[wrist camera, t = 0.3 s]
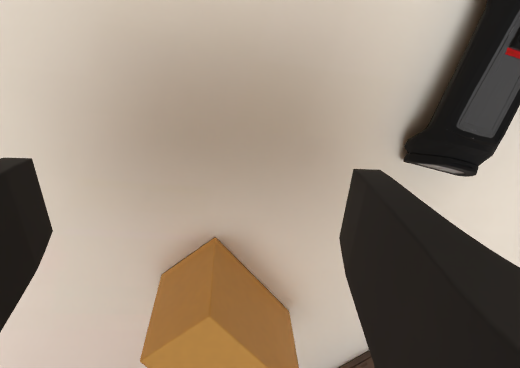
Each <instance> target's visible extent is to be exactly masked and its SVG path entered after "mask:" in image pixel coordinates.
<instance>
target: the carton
mask: <svg viewBox="0 0 520 368" xmlns="http://www.w3.org/2000/svg"><path fill="white" fill-rule="evenodd" d="M140 362H141V363H142V364H144V365H145V366H146V367H148V368H299V366H298V360H297V355H296V349H295V343H294V337H293V332H292V326H291V320H290V314H289V311H288V310H287V309H286V308H285V307H284V306H283V305H282V304H281V303H280V302H279V301H278V300H277V299H276V298H275V297H274V296H273V295H272V294H271V293H270V292H269V291H268V290H267V289H266V288H265V287H264V286H263V285H262V284H261V283H260V282H259V281H258V280H257V279H256V278H255V277H254V276H253V275H252V274H251V273H250V272H249V271H248V270H247V269H246V268H245V267H244V266H243V265H242V264H241V263H240V262H239V261H238V260H237V259H236V258H235V257H234V256H233V255H232V254H231V253H230V252H229V251H228V250H227V249H226V248H225V247H224V246H223V245H222V244H221V243H220V242H219V241H218V240H217V239H216V238H213V239H212V240H211V241H209V242H208V243H206V244H205V245H203V246H202V247H201V248H199V249H198V250H196V251H195V252H193V253H192V254H191V255H189V256H188V257H186V258H185V259H183V260H182V261H181V262H179V263H178V264H176V265H175V266H173V267H172V268H171V269H169V270H168V271H166V272H165V273H163V274H162V275H161V279H160V283H159V287H158V291H157V295H156V299H155V303H154V307H153V311H152V315H151V319H150V323H149V327H148V331H147V335H146V339H145V343H144V347H143V351H142V355H141V358H140Z"/></svg>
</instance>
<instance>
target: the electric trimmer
mask: <svg viewBox="0 0 520 368" xmlns="http://www.w3.org/2000/svg"><path fill="white" fill-rule="evenodd" d="M519 105H520V0H487V4H486V8H485V11H484V13H483V15H482V17H481V19H480V21H479V23H478V25H477V27H476V29H475V31H474V33H473V35H472V38H471V40H470V42H469V44H468V46H467V48H466V50H465V52H464V54H463V56H462V58H461V60H460V62H459V64H458V66H457V68H456V70H455V72H454V74H453V76H452V78H451V80H450V82H449V85H448V87H447V89H446V91H445V93H444V95H443V97H442V99H441V101H440V103H439V105H438V107H437V109H436V111H435V113H434V115H433V117H432V119H431V121H430V123H429V125H428V127H427V128H426V129H425V130H424V131H422V132H421V133H419V134H417V135H416V136H414V137H412V138H410V139H409V140H407V142H406V144H405V146H404V147H405V149H406V150H407V152H408V153H410V154H406V156H405V158H404V162H407V163H411V164H415V165H419V166H423V167H427V168H430V169H434V170H438V171H442V172H446V173H449V174H453V175H457V176H474V175H476V174H477V170H478V166H479V165H480V164H481V163H483V162H484V161H485V160H487V159H488V158H490V157H491V156H492V155H493V154H494V152H495V150H496V148H497V147H498V145H499V143H500V142H501V140H502V138H503V137H504V135H505V133H506V131H507V129H508V127H509V125H510V123H511V121H512V119H513V117H514V115H515V113H516V111H517V109H518V107H519Z"/></svg>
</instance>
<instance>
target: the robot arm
mask: <svg viewBox="0 0 520 368" xmlns="http://www.w3.org/2000/svg"><path fill="white" fill-rule="evenodd" d="M52 232H53V230H52V227H51V223H50V220H49V216H48V213H47V209H46V206H45V202H44V199H43V195H42V192H41V188H40V185H39V182H38V178H37V175H36V171H35V168H34V164H33V161H32V159H29V158H1V159H0V332H1V330H2V328H3V327H4V325H5V323H6V322H7V320H8V318H9V317H10V315H11V313H12V312H13V310H14V308H15V307H16V305H17V303H18V302H19V300H20V298H21V297H22V295H23V293H24V291H25V290H26V288H27V286H28V285H29V283H30V281H31V279H32V278H33V276H34V274H35V272H36V271H37V269H38V266H39V264H40V262H41V259H42V257H43V255H44V252H45V250H46V247H47V245H48V242H49V239H50V237H51V234H52ZM339 239H340V245H341V251H342V257H343V263H344V268H345V274H346V278H347V281H348V284H349V287H350V291H351V294H352V297H353V300H354V304H355V307H356V310H357V313H358V316H359V319H360V322H361V326H362V329H363V332H364V335H365V338H366V341H367V344H368V347H369V351H370V354H371V357H372V360H373V363H374V367H375V368H520V268H519V267H518V266H516V265H514V264H513V263H511V262H509V261H508V260H506V259H504V258H503V257H501V256H499V255H498V254H496V253H495V252H493V251H492V250H490V249H489V248H487V247H486V246H484V245H483V244H481V243H480V242H478V241H477V240H475V239H474V238H472V237H471V236H469V235H468V234H466V233H465V232H463V231H462V230H460V229H459V228H458V227H456V226H455V225H453V224H452V223H451V222H449V221H448V220H447V219H445V218H444V217H442V216H441V215H440V214H438V213H437V212H436V211H434V210H433V209H432V208H430V207H429V206H428V205H427V204H425V203H424V202H423V201H421V200H420V199H419V198H417V197H416V196H415V195H413V194H412V193H411V192H410V191H408V190H407V189H406V188H404V187H403V186H402V185H401V184H399V183H398V182H397V181H395V180H394V179H393V178H391V177H390V176H388V175H387V174H385V173H384V172H382V171H381V170H366V169H354V170H353V174H352V179H351V184H350V189H349V194H348V199H347V203H346V208H345V213H344V218H343V223H342V228H341V232H340V237H339Z"/></svg>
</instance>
